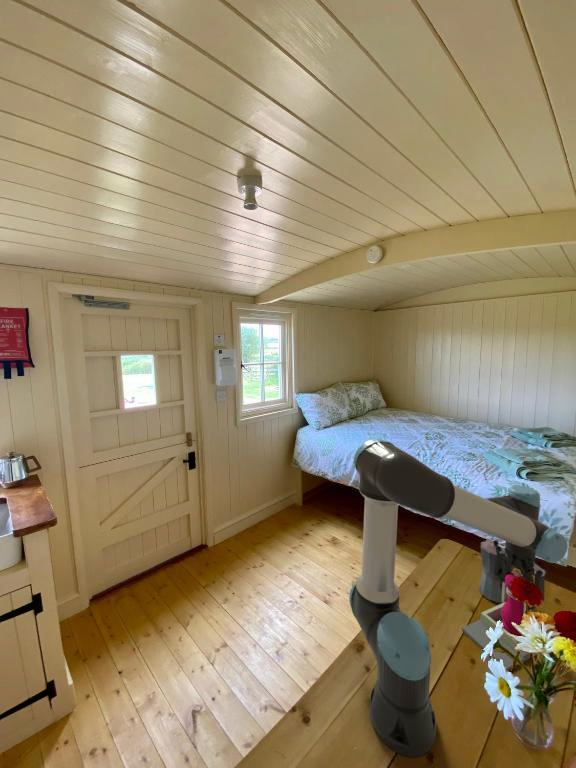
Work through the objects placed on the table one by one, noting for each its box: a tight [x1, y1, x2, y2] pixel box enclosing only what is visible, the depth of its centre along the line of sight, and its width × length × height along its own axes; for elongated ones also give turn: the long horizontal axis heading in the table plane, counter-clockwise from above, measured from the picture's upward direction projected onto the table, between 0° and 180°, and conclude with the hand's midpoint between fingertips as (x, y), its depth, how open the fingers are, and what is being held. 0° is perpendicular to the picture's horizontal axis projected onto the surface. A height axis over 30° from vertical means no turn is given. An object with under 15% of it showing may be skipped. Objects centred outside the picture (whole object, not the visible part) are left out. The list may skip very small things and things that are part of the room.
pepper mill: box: [501, 569, 524, 636], centre depth 99 cm, size 7×7×20 cm
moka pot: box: [478, 539, 508, 604], centre depth 115 cm, size 10×15×20 cm, turn 174°
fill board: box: [461, 602, 530, 671], centre depth 99 cm, size 20×14×4 cm
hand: (516, 608), depth 100 cm, fingers open, 6 cm apart
